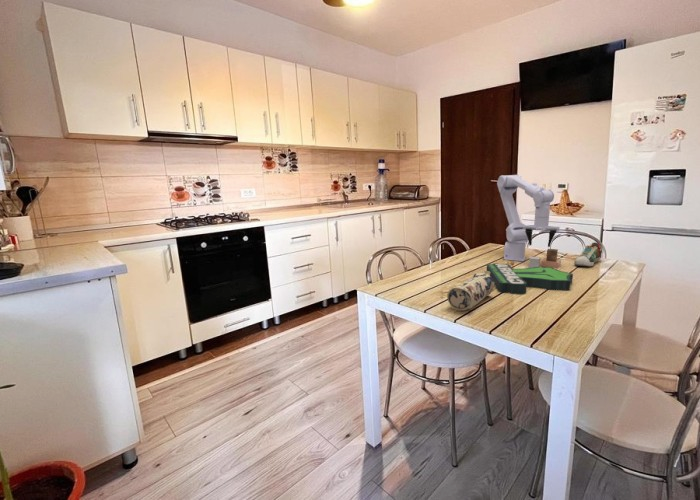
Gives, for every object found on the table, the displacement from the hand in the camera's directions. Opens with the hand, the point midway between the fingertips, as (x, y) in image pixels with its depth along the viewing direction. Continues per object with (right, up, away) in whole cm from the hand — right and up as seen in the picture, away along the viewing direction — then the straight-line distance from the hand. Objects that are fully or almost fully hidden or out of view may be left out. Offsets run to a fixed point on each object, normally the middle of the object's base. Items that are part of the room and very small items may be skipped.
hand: (539, 245), depth 158 cm
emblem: (-15, -16, -20) cm, 29 cm away
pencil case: (-46, -21, -39) cm, 64 cm away
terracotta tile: (+7, -10, +3) cm, 12 cm away
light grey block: (-3, -10, 0) cm, 11 cm away
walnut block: (+7, -7, +2) cm, 10 cm away
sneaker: (+25, -9, +3) cm, 27 cm away
